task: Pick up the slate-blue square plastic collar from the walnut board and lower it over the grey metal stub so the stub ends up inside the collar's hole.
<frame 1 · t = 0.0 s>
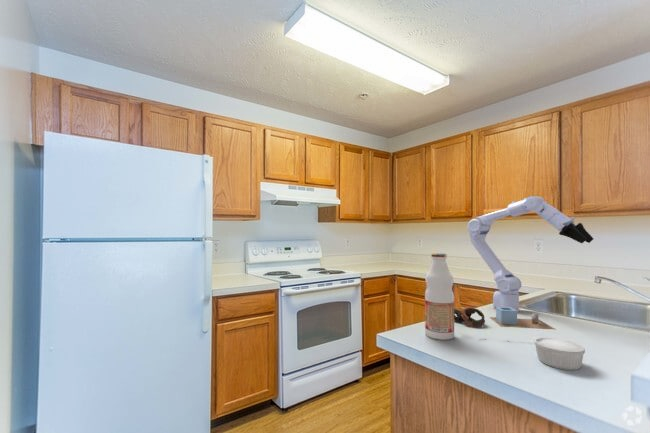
hand: (587, 241, 117), 32 cm above the countertop, tool tilted 50°, fingers open, 7 cm apart
collar: (506, 322, 120), point 1 cm above the countertop, touching stub board
ramekin: (558, 363, 88), on the countertop
fruit juice: (439, 336, 109), on the countertop
stub board: (520, 326, 119), on the countertop
brown curled shape: (467, 327, 119), on the countertop
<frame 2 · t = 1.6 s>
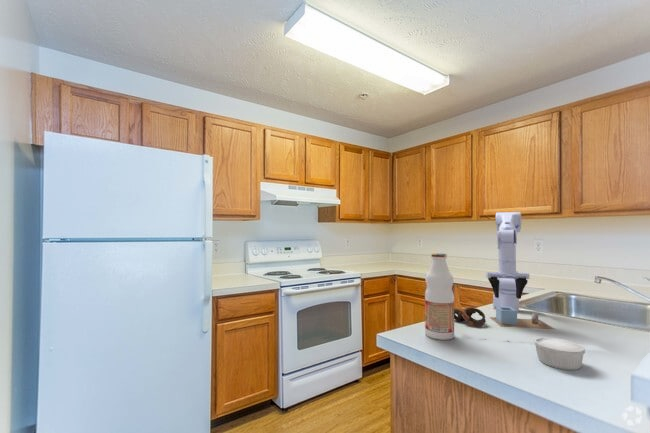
hand: (507, 297, 120), 11 cm above the countertop, tool pointing down, fingers open, 7 cm apart
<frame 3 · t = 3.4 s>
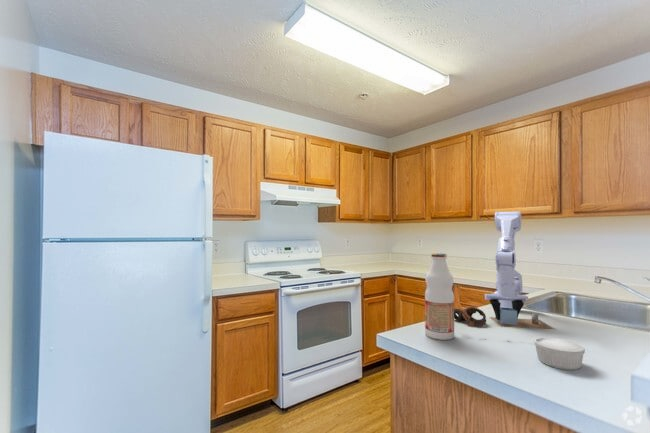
hand: (506, 319, 120), 2 cm above the countertop, tool pointing down, fingers closed on collar, 5 cm apart
collar: (506, 322, 120), point 1 cm above the countertop, touching gripper, stub board
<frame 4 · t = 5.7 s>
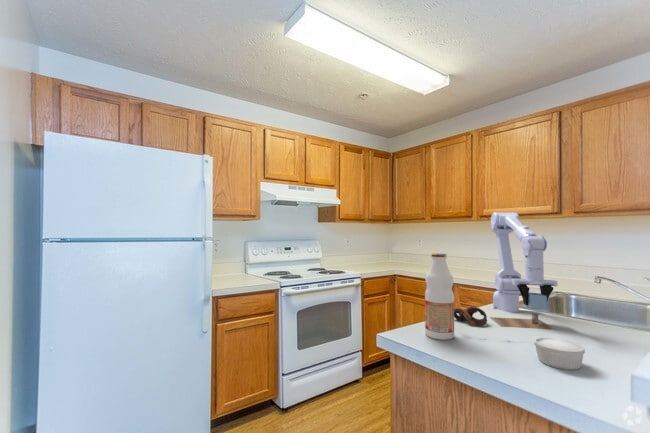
hand: (534, 305, 119), 8 cm above the countertop, tool pointing down, fingers closed on collar, 5 cm apart
collar: (535, 307, 118), point 7 cm above the countertop, touching gripper
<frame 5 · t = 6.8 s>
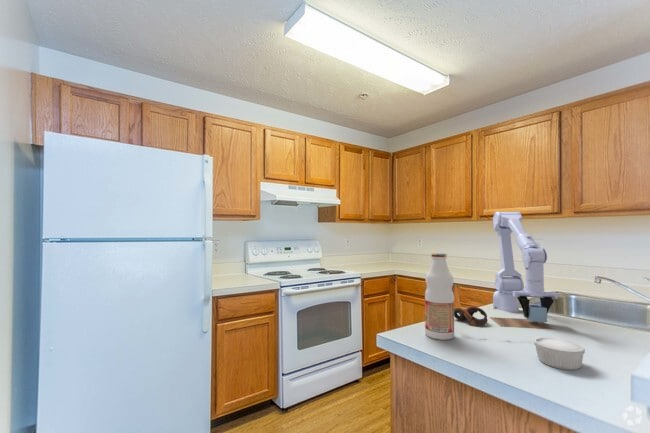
hand: (535, 317, 118), 4 cm above the countertop, tool pointing down, fingers closed on collar, 5 cm apart
collar: (535, 319, 118), point 3 cm above the countertop, touching gripper
when the fingers open (4 cm above the countertop, at t = 7.9 s): collar drops 1 cm, resting on stub board.
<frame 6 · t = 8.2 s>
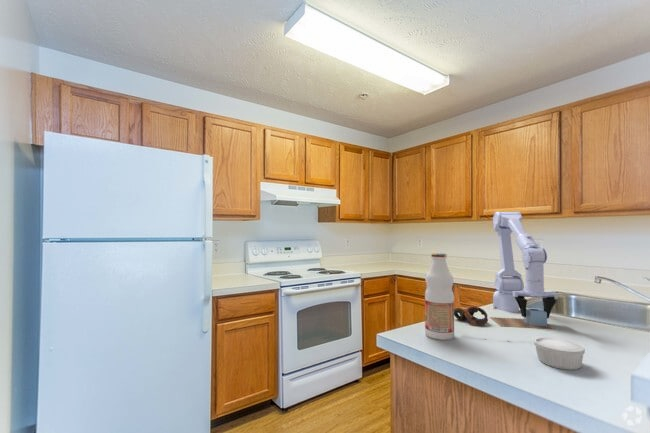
hand: (535, 317, 118), 4 cm above the countertop, tool pointing down, fingers open, 7 cm apart
collar: (535, 323, 118), point 1 cm above the countertop, touching stub board
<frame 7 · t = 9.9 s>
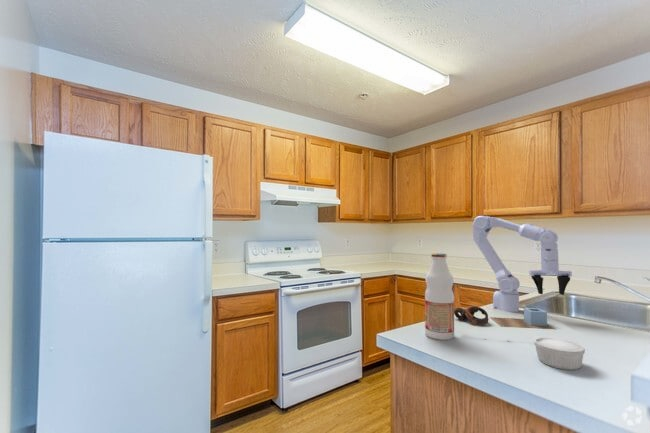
hand: (550, 294, 128), 10 cm above the countertop, tool pointing down, fingers open, 7 cm apart
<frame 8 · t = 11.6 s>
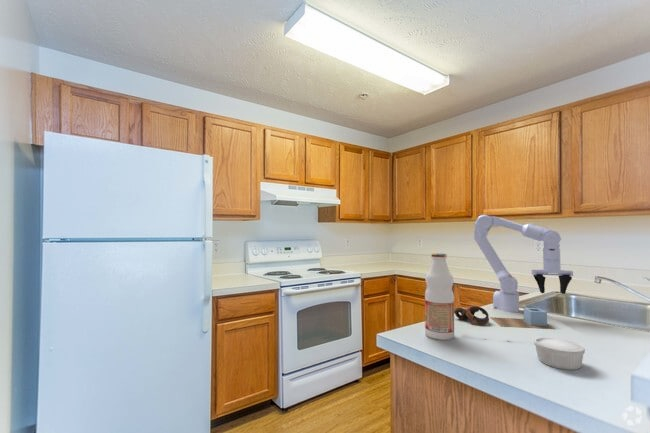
hand: (552, 293, 130), 10 cm above the countertop, tool pointing down, fingers open, 7 cm apart
at the end: collar 0.0 cm from the target spot on the stub board, point 1.5 cm above the stub board's base; collar tilted 0°; the gripper is holding nothing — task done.
